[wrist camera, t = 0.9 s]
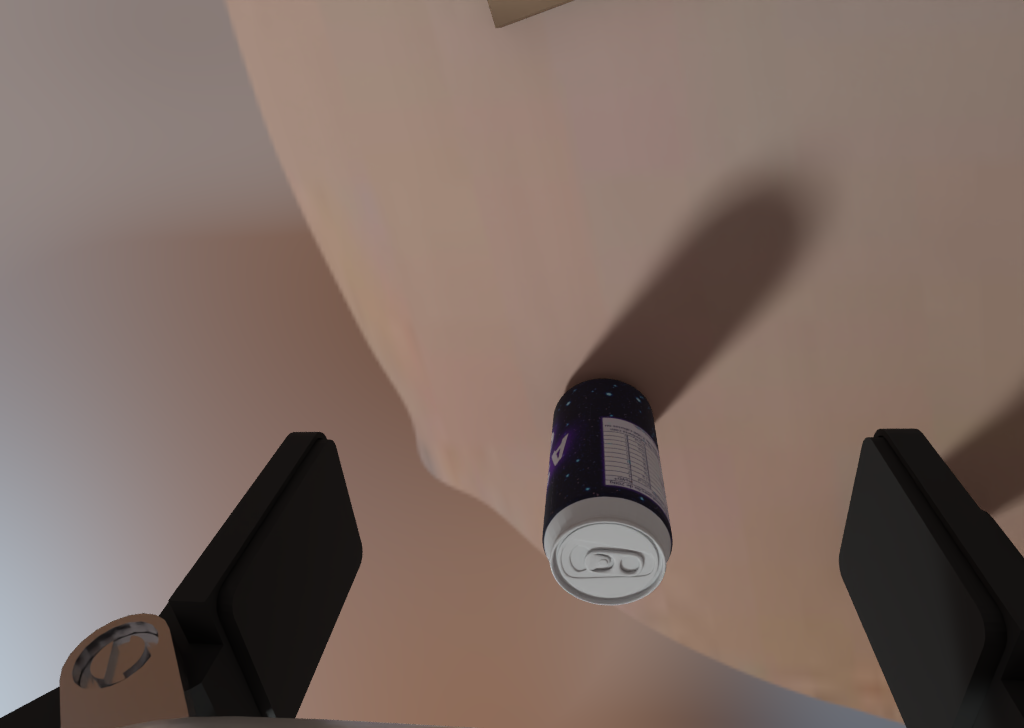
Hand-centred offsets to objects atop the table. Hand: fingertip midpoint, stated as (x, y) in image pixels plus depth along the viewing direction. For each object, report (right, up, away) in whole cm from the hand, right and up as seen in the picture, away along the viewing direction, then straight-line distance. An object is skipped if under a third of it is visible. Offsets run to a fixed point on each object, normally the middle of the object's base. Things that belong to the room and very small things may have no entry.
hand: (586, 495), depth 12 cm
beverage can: (+4, 0, +26) cm, 27 cm away
